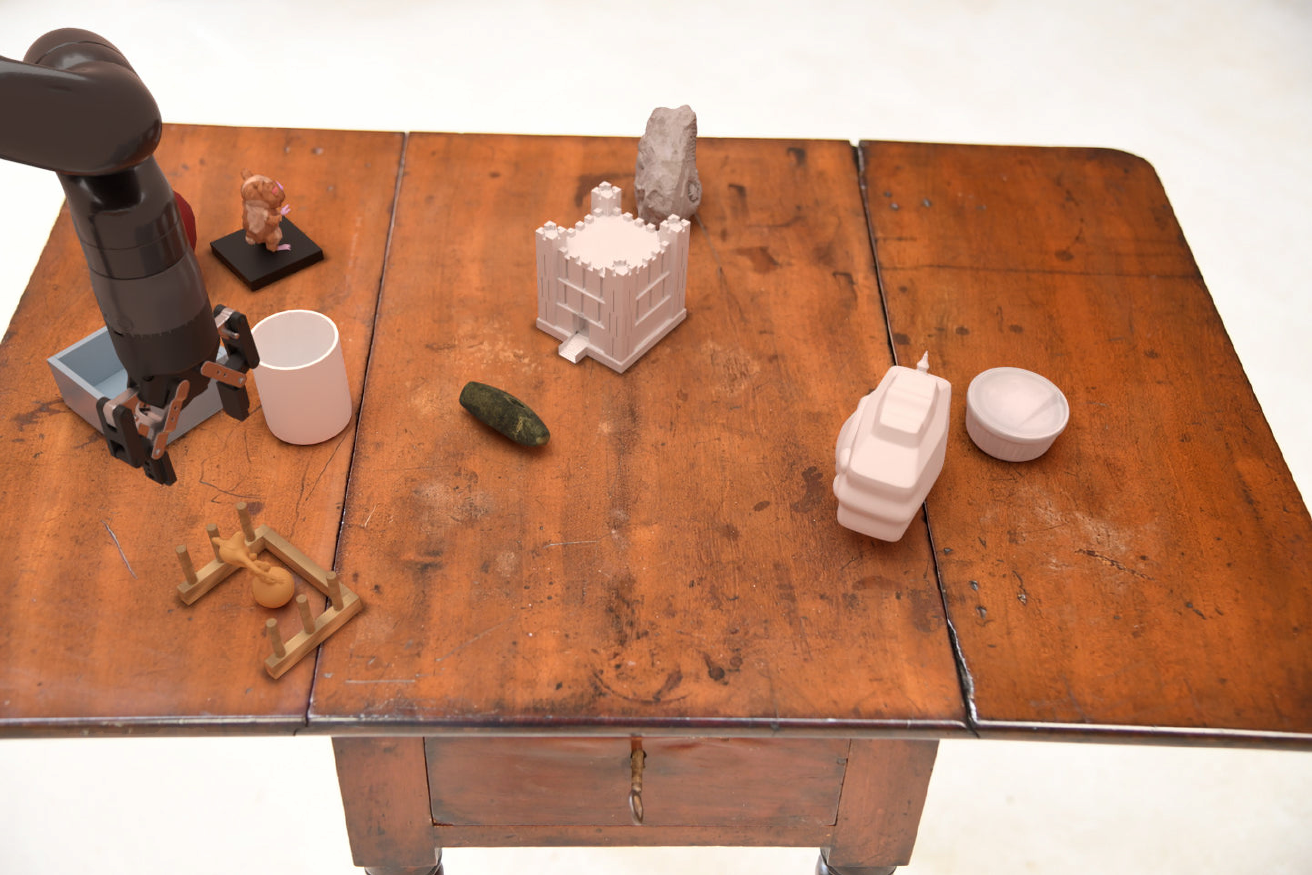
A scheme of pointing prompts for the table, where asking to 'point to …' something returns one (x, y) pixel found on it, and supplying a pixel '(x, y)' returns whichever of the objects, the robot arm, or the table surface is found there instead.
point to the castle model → (611, 282)
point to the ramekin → (1014, 413)
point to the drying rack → (324, 581)
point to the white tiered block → (892, 451)
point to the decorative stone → (504, 414)
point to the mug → (301, 376)
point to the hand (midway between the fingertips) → (202, 447)
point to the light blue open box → (117, 383)
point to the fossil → (667, 167)
